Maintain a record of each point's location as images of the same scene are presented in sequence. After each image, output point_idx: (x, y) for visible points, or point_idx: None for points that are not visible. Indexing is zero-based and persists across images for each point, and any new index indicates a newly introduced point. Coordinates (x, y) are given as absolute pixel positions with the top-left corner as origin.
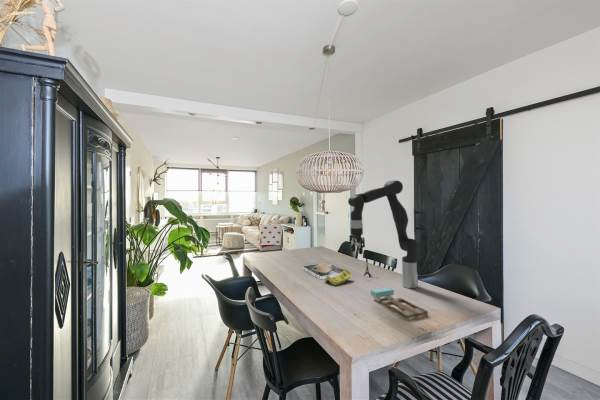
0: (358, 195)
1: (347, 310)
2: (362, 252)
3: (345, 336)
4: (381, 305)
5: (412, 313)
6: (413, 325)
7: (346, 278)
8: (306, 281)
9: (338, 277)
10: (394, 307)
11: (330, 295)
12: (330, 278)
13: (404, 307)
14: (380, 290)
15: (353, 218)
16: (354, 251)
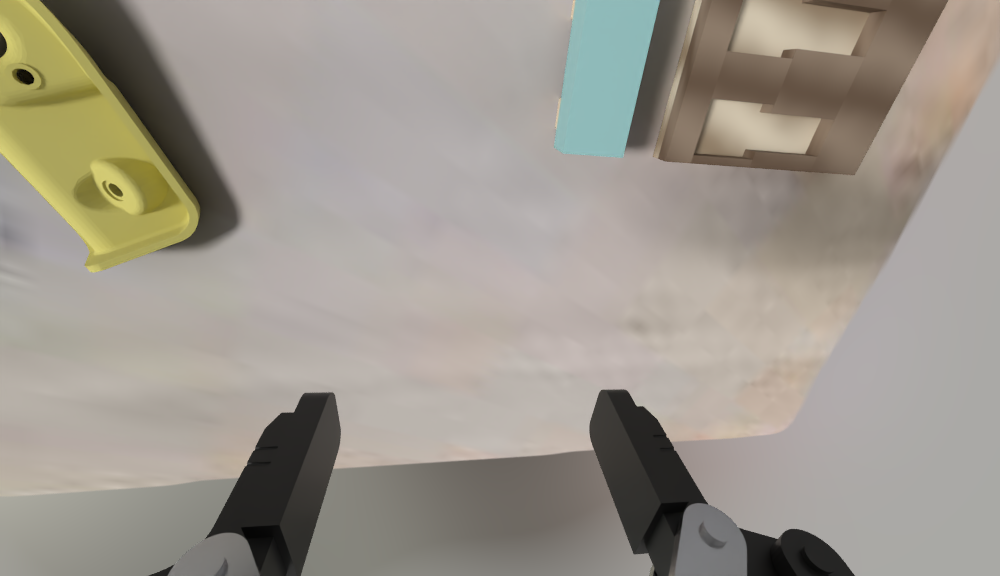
0: None
1: (593, 335)
2: (655, 421)
3: (722, 415)
4: (656, 156)
5: (875, 122)
6: (873, 178)
7: (101, 81)
8: (80, 349)
9: (49, 136)
10: (767, 153)
11: (394, 323)
12: (142, 254)
13: (813, 95)
14: (612, 85)
15: None
16: (335, 399)
